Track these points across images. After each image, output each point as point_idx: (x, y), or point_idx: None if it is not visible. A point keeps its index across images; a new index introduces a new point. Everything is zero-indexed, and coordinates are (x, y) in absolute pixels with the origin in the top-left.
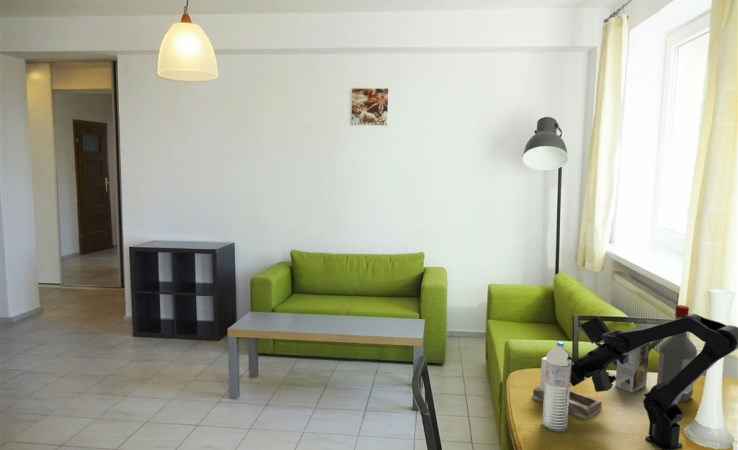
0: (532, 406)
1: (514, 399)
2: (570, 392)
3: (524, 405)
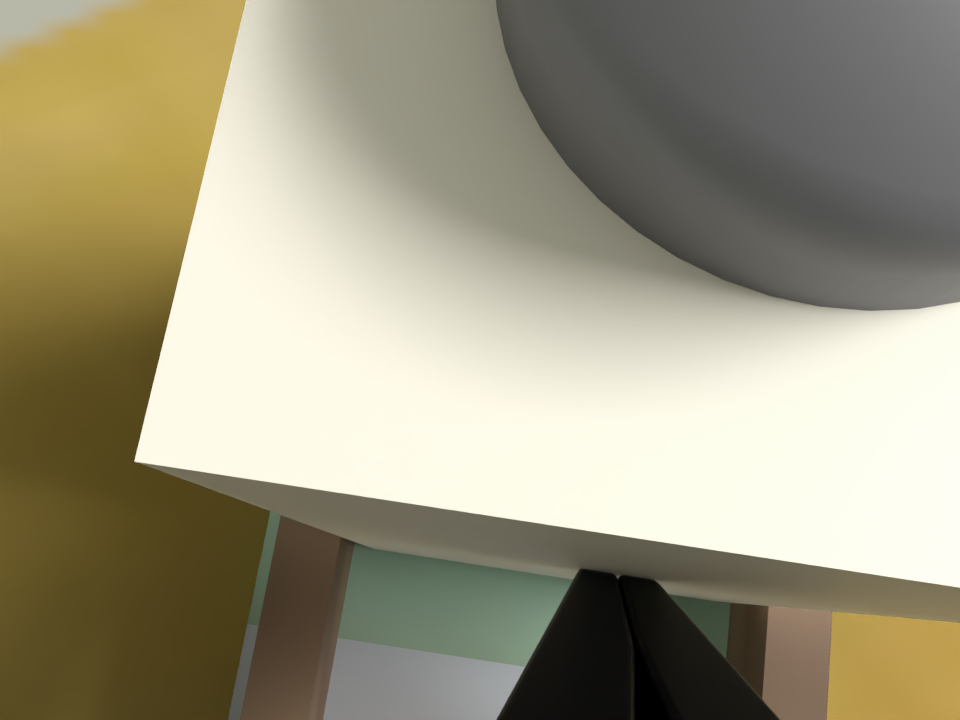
0: (72, 282)
1: (138, 10)
2: (759, 676)
3: (32, 182)
